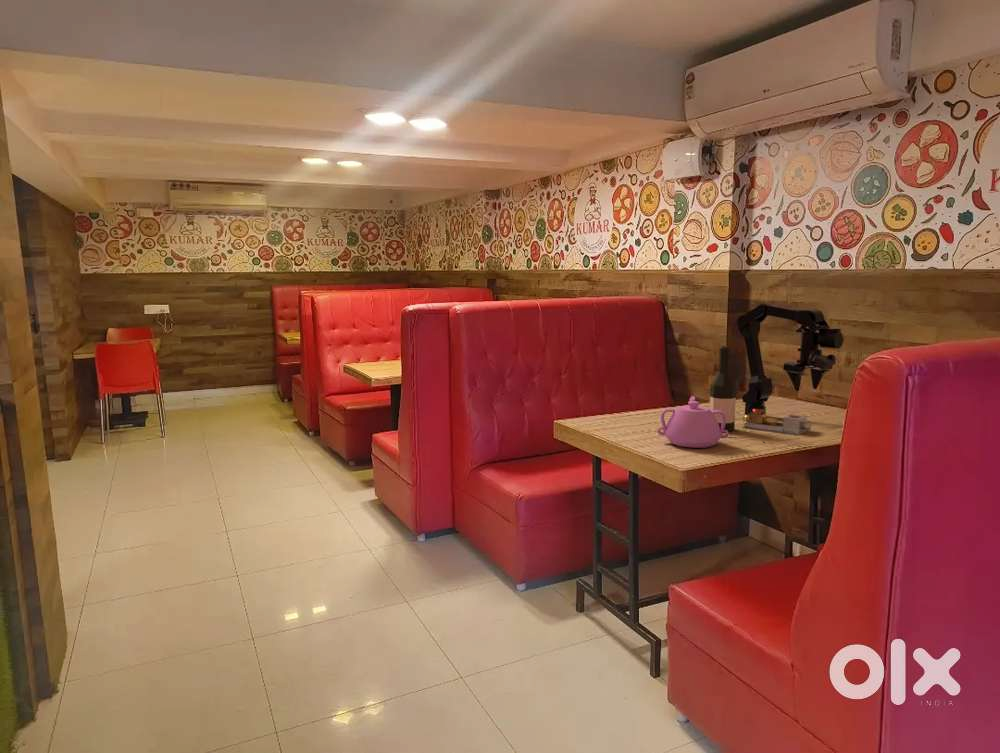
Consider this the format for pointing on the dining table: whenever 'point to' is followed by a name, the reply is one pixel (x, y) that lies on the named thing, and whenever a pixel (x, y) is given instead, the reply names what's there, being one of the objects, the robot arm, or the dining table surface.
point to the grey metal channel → (784, 426)
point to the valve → (759, 418)
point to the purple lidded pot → (693, 426)
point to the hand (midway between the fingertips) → (806, 390)
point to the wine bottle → (724, 391)
